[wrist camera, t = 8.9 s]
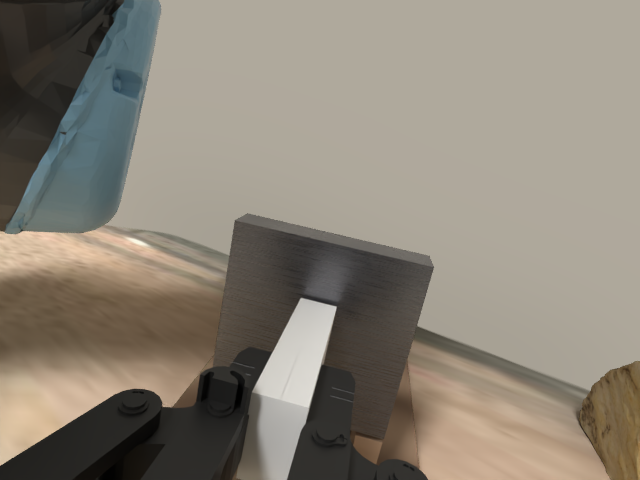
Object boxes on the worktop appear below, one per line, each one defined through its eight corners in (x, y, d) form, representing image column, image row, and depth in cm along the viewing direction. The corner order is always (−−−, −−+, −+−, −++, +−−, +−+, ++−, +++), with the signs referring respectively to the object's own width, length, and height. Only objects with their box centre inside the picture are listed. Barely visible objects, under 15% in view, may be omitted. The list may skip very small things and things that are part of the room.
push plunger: (362, 513, 19) (433, 267, 16) (197, 464, 20) (234, 220, 17) (368, 402, 27) (416, 224, 24) (251, 371, 28) (282, 194, 25)
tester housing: (421, 604, 17) (482, 436, 15) (112, 507, 19) (127, 339, 16) (399, 339, 40) (422, 257, 38) (262, 304, 42) (276, 223, 40)
